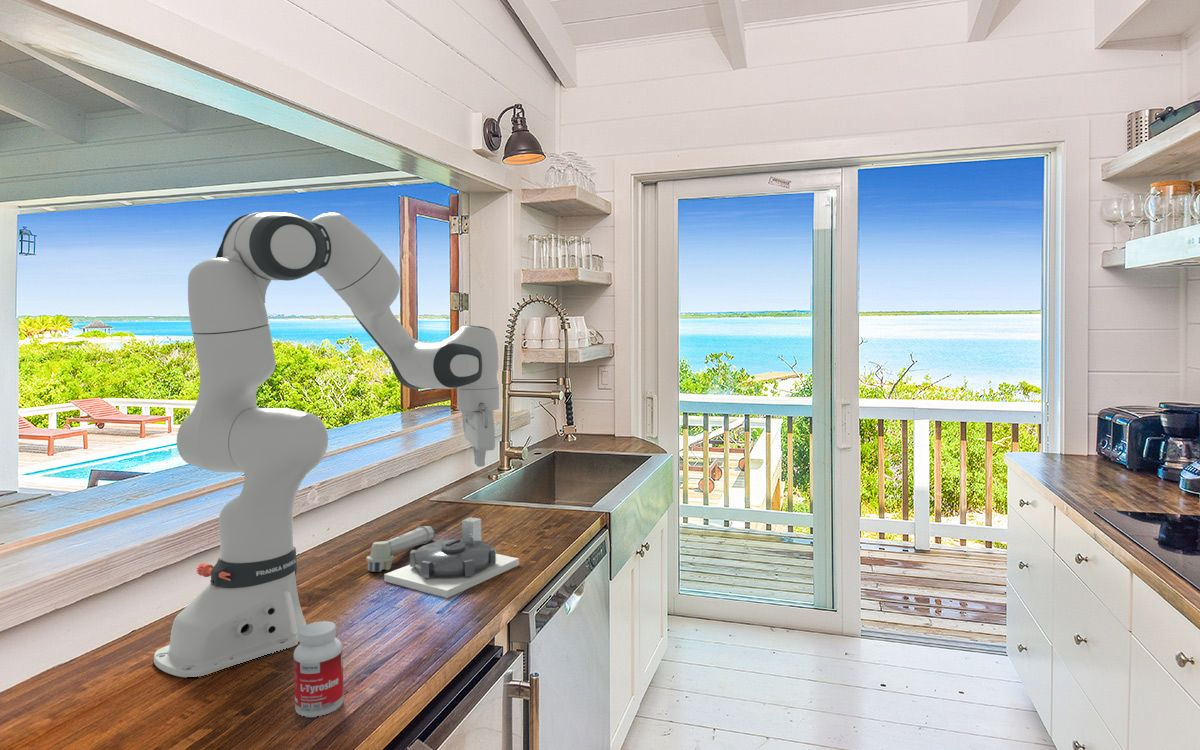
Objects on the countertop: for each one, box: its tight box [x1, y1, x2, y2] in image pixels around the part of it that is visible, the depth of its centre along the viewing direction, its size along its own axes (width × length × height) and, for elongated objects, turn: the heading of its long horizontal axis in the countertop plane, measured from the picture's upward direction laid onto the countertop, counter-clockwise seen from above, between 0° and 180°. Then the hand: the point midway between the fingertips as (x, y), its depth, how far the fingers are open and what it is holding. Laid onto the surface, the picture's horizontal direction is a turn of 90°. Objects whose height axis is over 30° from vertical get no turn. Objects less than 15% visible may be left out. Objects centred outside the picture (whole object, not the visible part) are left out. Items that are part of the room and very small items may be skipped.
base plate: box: [383, 553, 520, 599], centre depth 144 cm, size 22×18×2 cm
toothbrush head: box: [365, 525, 436, 573], centre depth 157 cm, size 5×7×25 cm
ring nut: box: [409, 517, 497, 578], centre depth 143 cm, size 17×17×8 cm
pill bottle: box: [293, 620, 345, 718], centre depth 92 cm, size 6×6×11 cm
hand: (479, 465), depth 144 cm, fingers closed
